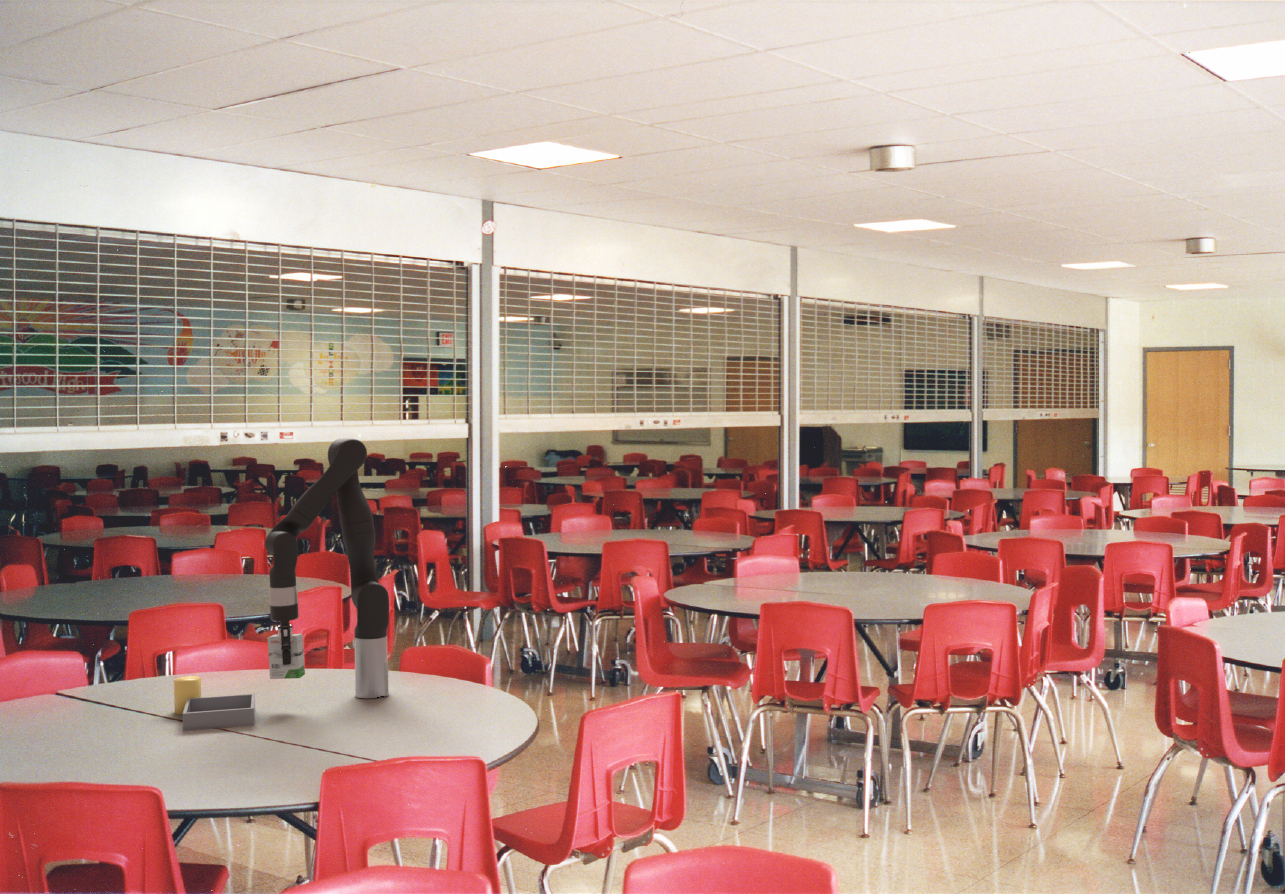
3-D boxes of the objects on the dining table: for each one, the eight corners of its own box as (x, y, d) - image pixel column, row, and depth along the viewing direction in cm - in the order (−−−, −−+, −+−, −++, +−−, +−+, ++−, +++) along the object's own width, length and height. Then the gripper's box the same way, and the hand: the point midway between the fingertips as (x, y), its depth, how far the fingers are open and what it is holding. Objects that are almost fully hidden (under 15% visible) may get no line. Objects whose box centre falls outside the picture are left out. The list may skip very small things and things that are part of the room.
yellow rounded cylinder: (202, 707, 341) (201, 675, 341) (200, 713, 334) (200, 680, 334) (175, 709, 339) (175, 677, 339) (173, 715, 332) (172, 682, 332)
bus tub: (255, 709, 338) (254, 693, 338) (254, 725, 321) (253, 708, 321) (187, 714, 333) (187, 698, 333) (183, 730, 316) (182, 713, 316)
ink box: (305, 674, 341) (303, 632, 341) (299, 678, 336) (297, 636, 336) (275, 675, 342) (273, 633, 342) (268, 679, 337) (266, 636, 337)
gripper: (298, 605, 333) (301, 666, 333) (297, 597, 346) (300, 655, 347) (269, 607, 330) (272, 668, 331) (269, 599, 344) (272, 658, 345)
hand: (286, 661), depth 339 cm, fingers closed on ink box, 6 cm apart
